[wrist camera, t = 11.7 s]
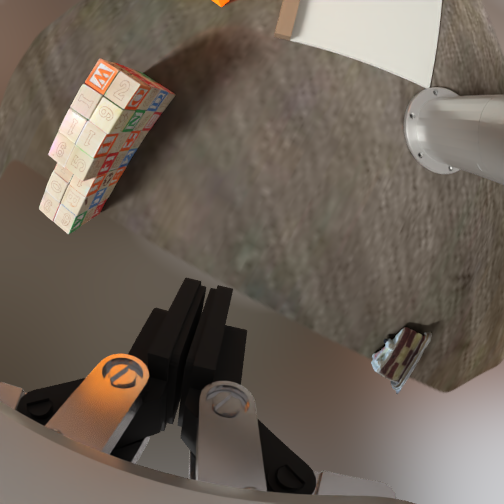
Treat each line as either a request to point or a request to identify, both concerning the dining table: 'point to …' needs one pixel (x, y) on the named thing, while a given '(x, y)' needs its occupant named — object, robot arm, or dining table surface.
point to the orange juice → (220, 2)
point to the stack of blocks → (99, 140)
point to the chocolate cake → (400, 356)
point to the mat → (369, 32)
